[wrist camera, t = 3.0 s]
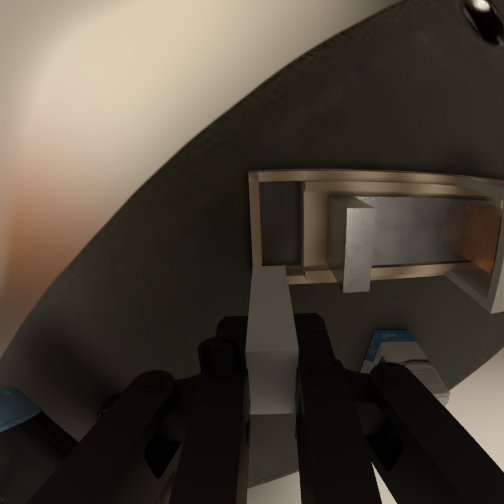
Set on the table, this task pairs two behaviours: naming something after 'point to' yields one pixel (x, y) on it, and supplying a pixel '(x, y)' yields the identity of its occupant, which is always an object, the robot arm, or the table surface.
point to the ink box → (404, 359)
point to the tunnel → (478, 280)
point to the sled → (407, 233)
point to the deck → (316, 216)
